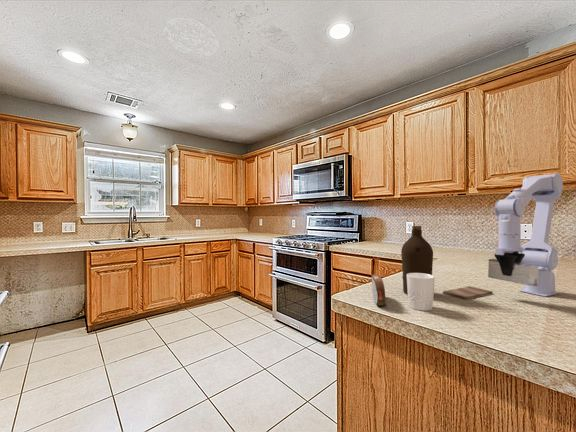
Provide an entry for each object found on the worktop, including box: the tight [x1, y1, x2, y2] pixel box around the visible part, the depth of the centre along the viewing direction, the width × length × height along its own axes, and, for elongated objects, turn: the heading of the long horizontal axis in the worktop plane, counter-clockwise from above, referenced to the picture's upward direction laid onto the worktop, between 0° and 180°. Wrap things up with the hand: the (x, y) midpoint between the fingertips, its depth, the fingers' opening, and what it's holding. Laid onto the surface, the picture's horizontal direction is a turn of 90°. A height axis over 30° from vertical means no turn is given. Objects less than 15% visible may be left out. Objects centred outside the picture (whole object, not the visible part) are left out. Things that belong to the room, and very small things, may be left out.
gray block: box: [487, 258, 538, 286], centre depth 88 cm, size 4×13×6 cm, turn 29°
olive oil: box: [400, 225, 434, 295], centre depth 98 cm, size 11×11×25 cm
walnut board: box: [442, 286, 493, 300], centre depth 97 cm, size 16×8×1 cm, turn 115°
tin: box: [370, 274, 387, 307], centre depth 89 cm, size 15×3×8 cm, turn 168°
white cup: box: [407, 273, 435, 312], centre depth 83 cm, size 8×8×10 cm
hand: (509, 274), depth 89 cm, fingers closed on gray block, 3 cm apart
